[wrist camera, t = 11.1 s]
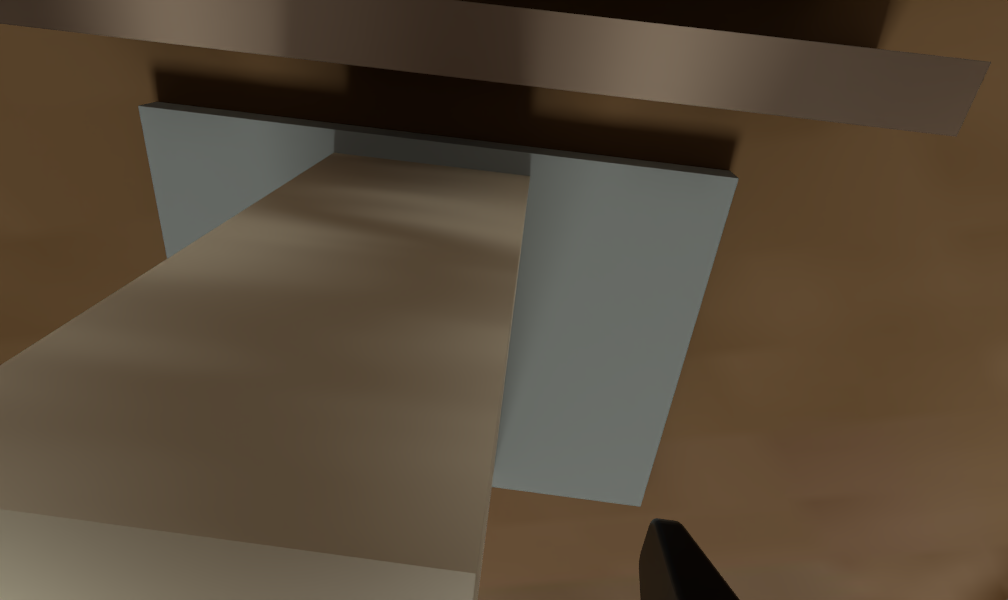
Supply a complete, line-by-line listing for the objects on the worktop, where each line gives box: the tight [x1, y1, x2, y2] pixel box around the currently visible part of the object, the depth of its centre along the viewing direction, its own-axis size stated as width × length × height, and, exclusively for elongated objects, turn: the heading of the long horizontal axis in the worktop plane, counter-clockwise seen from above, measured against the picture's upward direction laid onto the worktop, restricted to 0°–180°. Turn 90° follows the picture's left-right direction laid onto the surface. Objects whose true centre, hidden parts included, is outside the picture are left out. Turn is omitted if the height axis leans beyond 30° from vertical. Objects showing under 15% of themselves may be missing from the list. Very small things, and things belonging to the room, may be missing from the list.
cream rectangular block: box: [0, 153, 530, 600], centre depth 9 cm, size 4×8×9 cm, turn 174°
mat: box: [138, 102, 739, 507], centre depth 13 cm, size 12×9×1 cm
